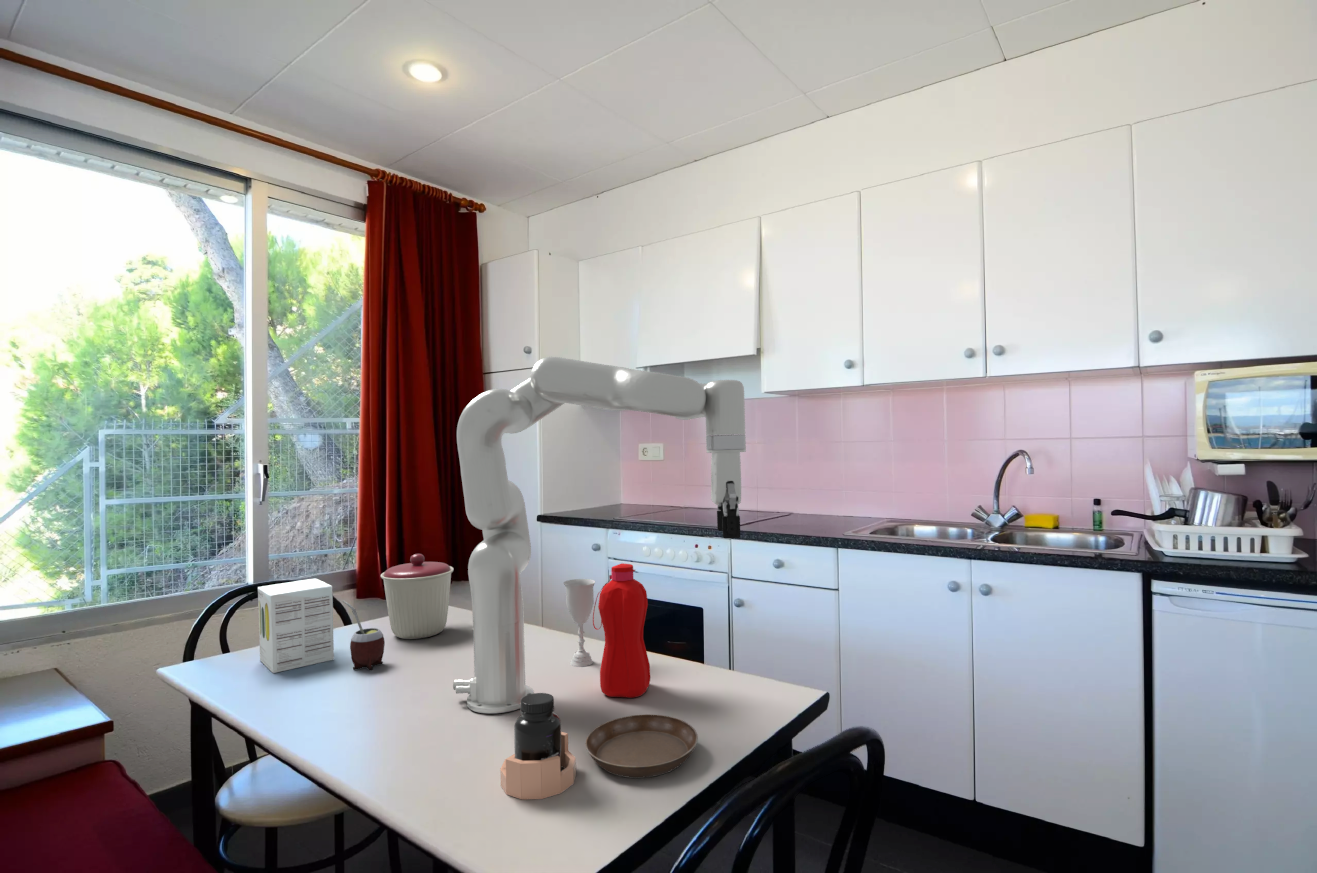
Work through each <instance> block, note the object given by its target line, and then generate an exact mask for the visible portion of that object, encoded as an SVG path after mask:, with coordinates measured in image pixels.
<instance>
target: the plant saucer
mask: <svg viewBox="0 0 1317 873" xmlns="http://www.w3.org/2000/svg"><path fill="white" fill-rule="evenodd" d="M698 741H699V735H698V732H697V731H696V729H695V728H694V727H693V726H692V725H691V724H689V723H688V722H686V721H685V720H682V719H680V718H676V717H673V716H669V715H660V714H647V713H646V714H633V715H628V716H622V717H618V718H614V719H611V720H608V721H606V722H604V723H602V724H600V725H599V726H597V727H595V728H594V729H593V730H592V731H590V733H588V735H587V737H586V739H585V742H584V744H585V748H586V751H587V753H588V754H589V755H590V757H591V759H593V761H594V762H595V763H596V764H597V765H598V766H600V768H601V769H603V770H605V771H606V772H608V773H610V774H613V775H615V776H619V777H625V778H634V779H635V778H636V779H637V778H638V779H641V778H651V777H656V776H660V775H662V776H663V775H665V774H668V773H669V772H672V771H674V770H676V769H677V768H679V767H680V766H681V765H683V764H684V763H685V762H686V761H687V759H688V758H689V757H690V756H691V754H692V753H693V751H694V750H695V749H696V745H697V743H698Z"/></svg>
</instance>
